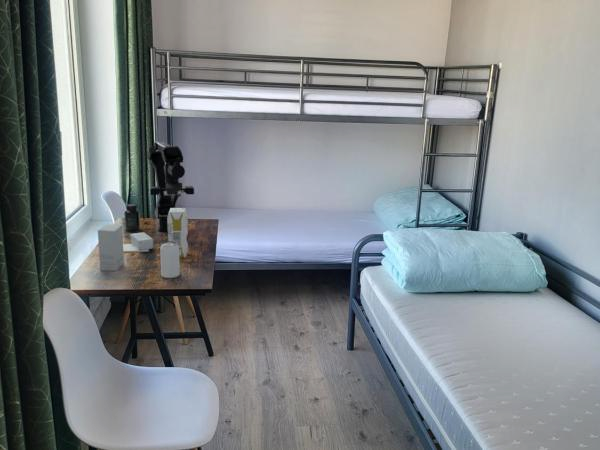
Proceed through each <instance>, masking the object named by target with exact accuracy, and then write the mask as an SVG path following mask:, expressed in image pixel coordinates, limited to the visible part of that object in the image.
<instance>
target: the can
mask: <svg viewBox="0 0 600 450" xmlns="http://www.w3.org/2000/svg"><path fill="white" fill-rule="evenodd" d="M177 244H178V243H177V242H173V241H168V240H167V241H164V242H162V243H161V245H160V249H159V250H160V251H159V252H160V271H161V273H160V274H161V277H162V278H165V279H174V278H175V279H176V278H178V277H179V276H180V273H181V271H180V270H181V267H180V258H179V246H178V245H177Z"/></svg>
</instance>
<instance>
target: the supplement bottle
mask: <svg viewBox="0 0 600 450" xmlns="http://www.w3.org/2000/svg"><path fill="white" fill-rule="evenodd" d="M125 206H126V207H125V208H126V210H125V211H124V228H125V231H126V232H136V231H137V232H138V231H139V230H141V216H140V215H141V213H140V210H138V204H137V203H129V204H126V205H125Z"/></svg>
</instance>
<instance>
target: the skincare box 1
mask: <svg viewBox="0 0 600 450" xmlns="http://www.w3.org/2000/svg"><path fill="white" fill-rule="evenodd" d="M123 235H124V234H123V224H109V223H107V224H105V225H103V226H101V227H100V228H99V229H97V238H98V256H99V259H98V260H99V270H100V271H103V272H104V271H106V272H107V271H109V272H110V271H111V272H117V271H118V270H120V268H122V266H124V264H125V254H124V253H125V252H123V244H124V236H123Z"/></svg>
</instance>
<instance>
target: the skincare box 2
mask: <svg viewBox="0 0 600 450" xmlns="http://www.w3.org/2000/svg"><path fill="white" fill-rule="evenodd" d="M130 244H133V245H134V246H135V247H136V248H137V249H139V250H145V249H149V250H151V249H154V239H153V238H152V237H151V236H150V235H148V234H147V233H146V232H137V233H135V232H134V233H130Z"/></svg>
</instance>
